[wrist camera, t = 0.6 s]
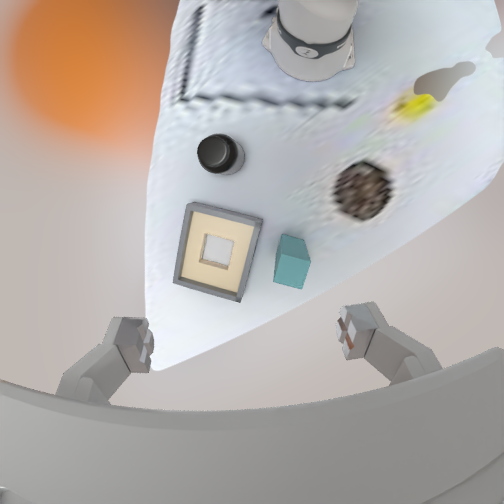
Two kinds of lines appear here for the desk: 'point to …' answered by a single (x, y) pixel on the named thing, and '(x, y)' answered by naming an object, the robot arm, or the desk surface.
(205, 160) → the supplement bottle
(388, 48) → the desk surface
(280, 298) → the desk surface
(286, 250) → the peg
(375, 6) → the desk surface
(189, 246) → the open box
